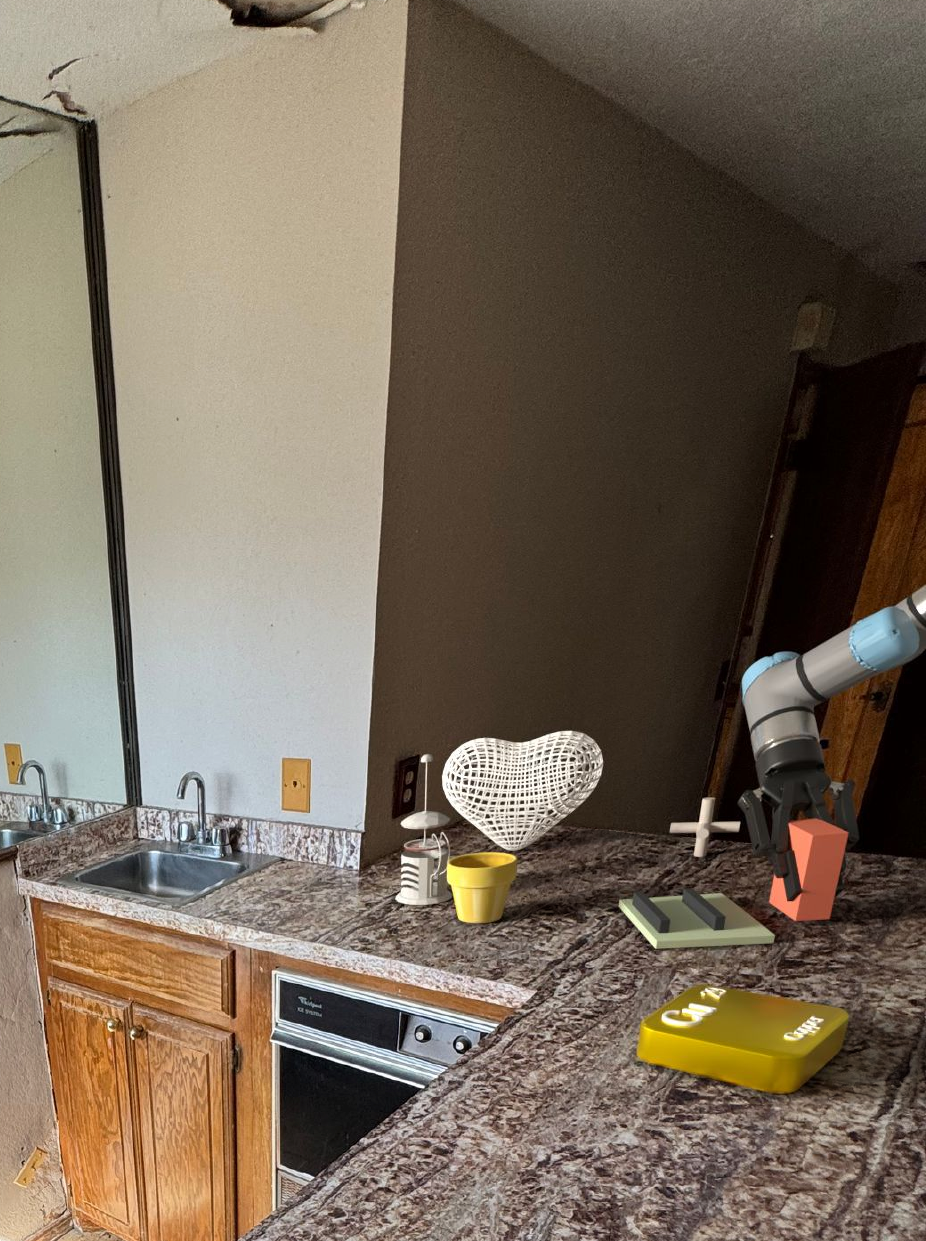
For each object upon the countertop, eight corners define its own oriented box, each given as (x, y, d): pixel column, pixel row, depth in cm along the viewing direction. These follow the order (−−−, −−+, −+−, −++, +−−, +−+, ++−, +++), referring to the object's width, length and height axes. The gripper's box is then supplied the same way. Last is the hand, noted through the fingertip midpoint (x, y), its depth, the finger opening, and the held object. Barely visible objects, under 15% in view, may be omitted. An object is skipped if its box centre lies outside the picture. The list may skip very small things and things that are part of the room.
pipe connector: (664, 862, 157) (672, 805, 153) (669, 848, 164) (676, 793, 160) (733, 862, 151) (743, 803, 147) (735, 847, 158) (745, 791, 154)
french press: (434, 885, 165) (438, 746, 155) (469, 900, 155) (476, 752, 144) (385, 895, 165) (385, 756, 154) (417, 910, 154) (420, 763, 143)
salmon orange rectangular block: (801, 900, 129) (818, 818, 124) (829, 919, 122) (849, 832, 116) (768, 902, 130) (784, 821, 125) (795, 921, 123) (812, 835, 118)
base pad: (720, 900, 137) (724, 880, 136) (773, 943, 120) (778, 921, 119) (618, 906, 141) (620, 887, 140) (655, 949, 124) (658, 927, 123)
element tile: (789, 1099, 87) (799, 1056, 85) (628, 1059, 99) (633, 1020, 96) (847, 1046, 94) (858, 1005, 92) (690, 1014, 106) (696, 977, 104)
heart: (594, 838, 177) (606, 721, 168) (593, 858, 166) (607, 734, 156) (445, 843, 191) (448, 735, 181) (434, 862, 179) (438, 748, 169)
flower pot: (448, 908, 153) (450, 852, 149) (515, 907, 148) (518, 849, 144) (442, 927, 145) (444, 869, 141) (512, 927, 140) (516, 867, 136)
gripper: (845, 761, 129) (877, 903, 122) (709, 775, 134) (731, 912, 127) (872, 727, 122) (907, 876, 115) (727, 744, 128) (752, 886, 121)
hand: (815, 894), depth 121 cm, fingers closed on salmon orange rectangular block, 4 cm apart
